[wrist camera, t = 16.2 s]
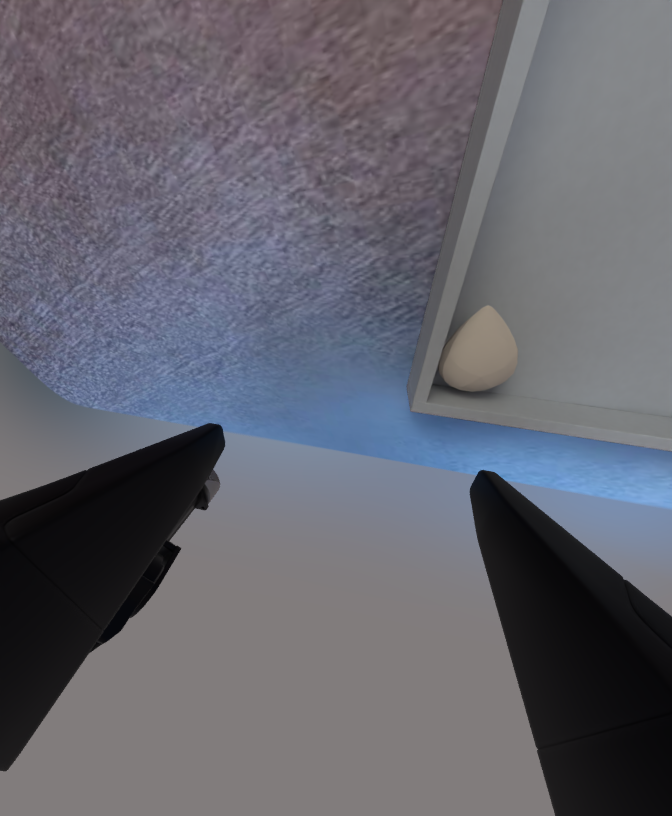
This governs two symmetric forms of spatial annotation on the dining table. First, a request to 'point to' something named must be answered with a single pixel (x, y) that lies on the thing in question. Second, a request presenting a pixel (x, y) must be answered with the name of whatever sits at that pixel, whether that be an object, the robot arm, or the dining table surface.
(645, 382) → the tray
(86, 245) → the dining table surface
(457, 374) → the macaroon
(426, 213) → the dining table surface
